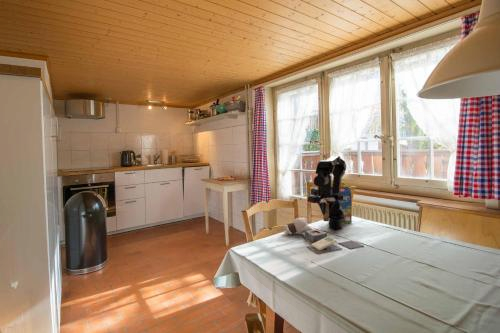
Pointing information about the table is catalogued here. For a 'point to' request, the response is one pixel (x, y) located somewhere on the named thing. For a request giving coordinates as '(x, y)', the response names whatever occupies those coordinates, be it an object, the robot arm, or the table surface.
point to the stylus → (326, 213)
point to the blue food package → (346, 203)
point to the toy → (297, 226)
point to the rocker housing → (325, 249)
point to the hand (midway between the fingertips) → (325, 214)
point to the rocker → (324, 243)
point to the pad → (351, 244)
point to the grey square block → (314, 235)
